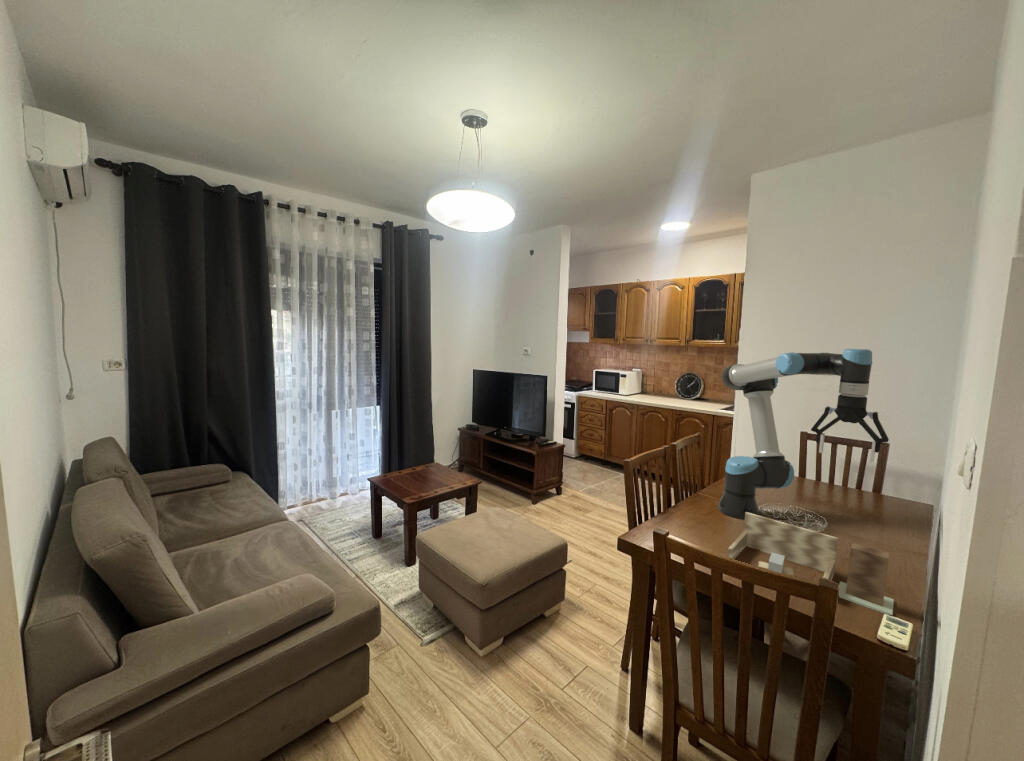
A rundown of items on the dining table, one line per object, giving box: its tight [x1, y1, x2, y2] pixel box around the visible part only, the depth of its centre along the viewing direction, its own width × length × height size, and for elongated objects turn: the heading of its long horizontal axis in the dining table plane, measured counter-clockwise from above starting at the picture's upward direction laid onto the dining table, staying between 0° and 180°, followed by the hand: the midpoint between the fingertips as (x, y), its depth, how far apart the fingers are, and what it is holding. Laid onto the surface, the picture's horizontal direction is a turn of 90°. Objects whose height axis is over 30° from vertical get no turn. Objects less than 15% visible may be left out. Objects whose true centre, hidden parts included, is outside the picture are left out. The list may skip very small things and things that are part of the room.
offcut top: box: [768, 552, 786, 573], centre depth 128 cm, size 7×4×3 cm, turn 141°
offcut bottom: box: [757, 560, 795, 577], centre depth 128 cm, size 9×4×3 cm, turn 63°
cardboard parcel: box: [846, 542, 890, 606], centre depth 117 cm, size 8×4×14 cm, turn 45°
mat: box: [838, 581, 895, 616], centre depth 117 cm, size 12×9×1 cm
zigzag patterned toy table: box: [727, 512, 839, 581], centre depth 131 cm, size 26×19×12 cm
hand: (845, 456), depth 140 cm, fingers open, 13 cm apart
